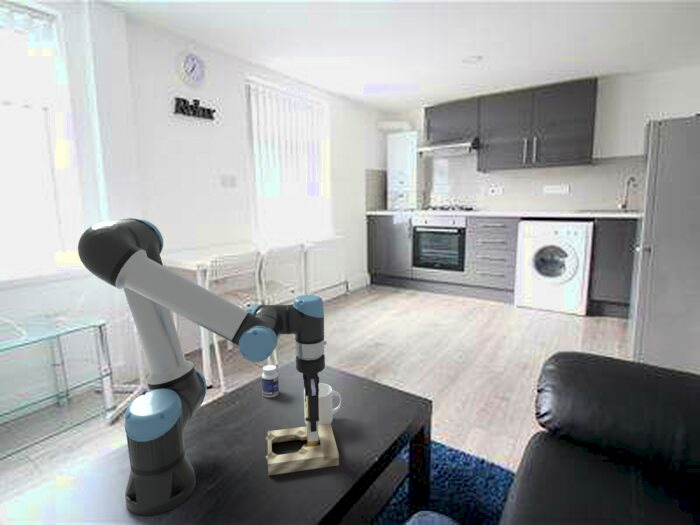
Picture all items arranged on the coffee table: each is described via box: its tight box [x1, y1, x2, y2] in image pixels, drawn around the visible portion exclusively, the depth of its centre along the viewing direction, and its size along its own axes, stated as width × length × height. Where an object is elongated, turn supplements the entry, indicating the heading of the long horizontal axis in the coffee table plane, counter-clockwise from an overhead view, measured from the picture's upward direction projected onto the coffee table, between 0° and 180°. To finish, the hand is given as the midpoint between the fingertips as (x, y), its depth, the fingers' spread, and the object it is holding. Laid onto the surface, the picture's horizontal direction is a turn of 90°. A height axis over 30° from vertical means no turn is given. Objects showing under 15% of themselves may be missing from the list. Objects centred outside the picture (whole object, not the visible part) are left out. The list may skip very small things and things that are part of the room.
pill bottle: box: [261, 364, 280, 398], centre depth 140 cm, size 6×6×10 cm
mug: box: [303, 382, 342, 425], centre depth 124 cm, size 9×12×11 cm
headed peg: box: [301, 396, 320, 449], centre depth 109 cm, size 6×6×16 cm
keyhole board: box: [265, 423, 340, 476], centre depth 109 cm, size 19×14×3 cm
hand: (312, 435), depth 109 cm, fingers open, 4 cm apart
